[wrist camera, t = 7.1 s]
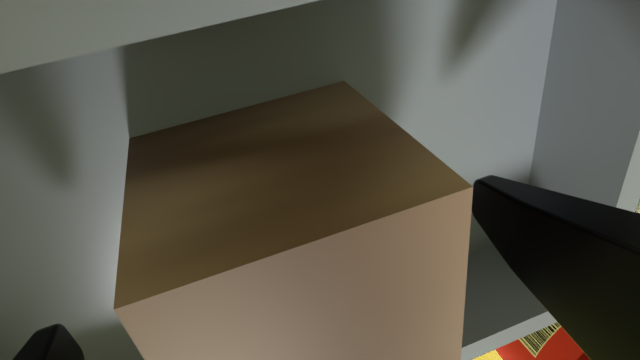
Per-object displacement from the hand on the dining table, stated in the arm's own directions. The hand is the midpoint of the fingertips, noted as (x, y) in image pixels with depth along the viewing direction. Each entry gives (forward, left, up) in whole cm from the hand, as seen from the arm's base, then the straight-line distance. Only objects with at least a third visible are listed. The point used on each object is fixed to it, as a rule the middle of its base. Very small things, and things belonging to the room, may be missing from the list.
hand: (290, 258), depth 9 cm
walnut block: (0, 0, -2) cm, 2 cm away
